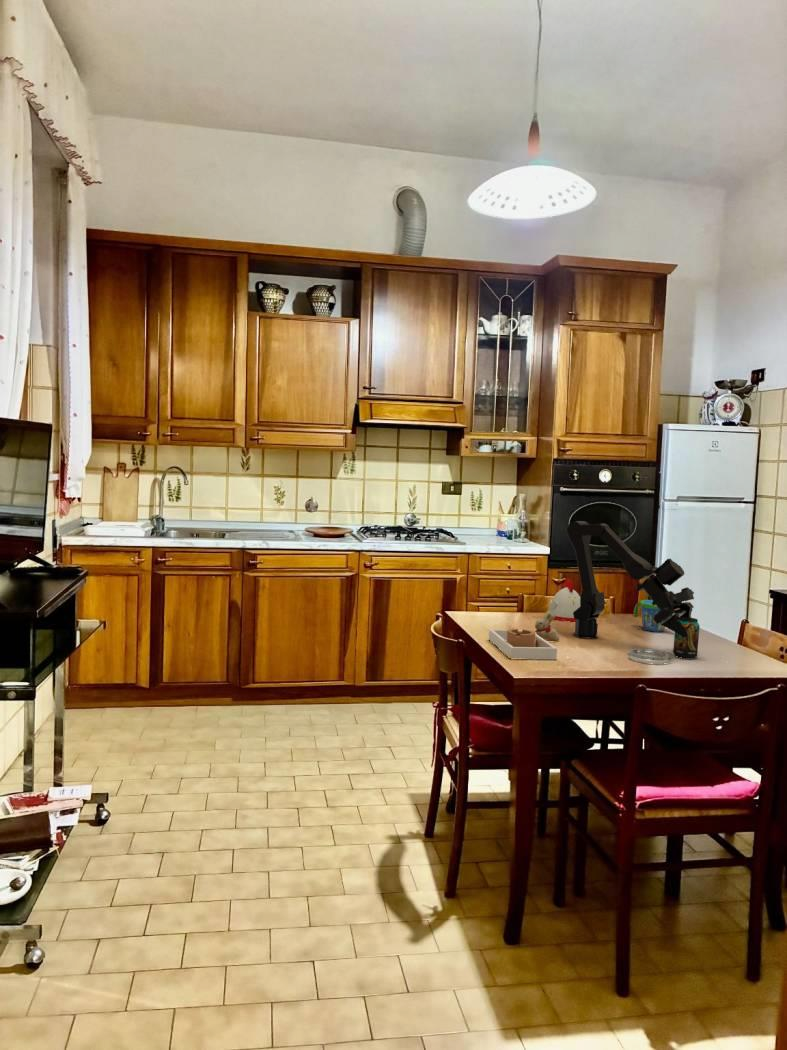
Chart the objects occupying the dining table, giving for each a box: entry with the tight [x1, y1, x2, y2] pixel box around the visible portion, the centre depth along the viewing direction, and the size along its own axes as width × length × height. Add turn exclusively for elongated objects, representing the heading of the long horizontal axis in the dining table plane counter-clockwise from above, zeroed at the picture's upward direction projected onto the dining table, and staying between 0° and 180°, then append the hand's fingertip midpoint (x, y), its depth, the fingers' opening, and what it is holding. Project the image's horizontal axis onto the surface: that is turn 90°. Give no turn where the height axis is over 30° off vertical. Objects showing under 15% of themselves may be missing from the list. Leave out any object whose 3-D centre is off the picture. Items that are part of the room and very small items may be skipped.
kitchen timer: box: [547, 578, 581, 623], centre depth 292 cm, size 14×14×15 cm
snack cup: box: [633, 599, 666, 633], centre depth 278 cm, size 16×10×10 cm
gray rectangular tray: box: [488, 629, 558, 660], centre depth 237 cm, size 14×24×4 cm, turn 8°
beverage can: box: [672, 617, 701, 659], centre depth 239 cm, size 7×7×12 cm
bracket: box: [506, 628, 536, 647], centre depth 237 cm, size 18×8×7 cm, turn 166°
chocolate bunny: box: [534, 610, 560, 642], centre depth 252 cm, size 6×8×10 cm
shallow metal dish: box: [627, 648, 672, 664], centre depth 233 cm, size 12×12×2 cm
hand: (691, 635), depth 238 cm, fingers closed on beverage can, 7 cm apart
